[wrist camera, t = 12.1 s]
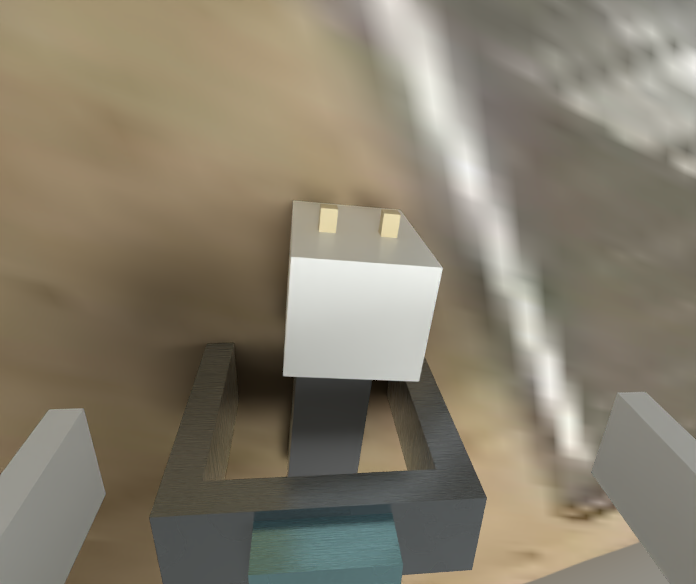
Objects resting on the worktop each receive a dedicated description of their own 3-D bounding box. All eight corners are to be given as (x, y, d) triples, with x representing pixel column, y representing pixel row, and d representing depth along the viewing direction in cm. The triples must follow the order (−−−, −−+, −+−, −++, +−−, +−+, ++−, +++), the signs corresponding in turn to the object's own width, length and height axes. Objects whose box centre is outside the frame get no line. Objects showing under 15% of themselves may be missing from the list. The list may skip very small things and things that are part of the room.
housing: (213, 401, 28) (150, 650, 16) (206, 343, 27) (131, 573, 15) (410, 394, 30) (489, 621, 17) (416, 338, 28) (508, 547, 16)
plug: (360, 454, 31) (379, 569, 24) (276, 453, 31) (269, 571, 23) (403, 190, 24) (448, 241, 17) (294, 180, 23) (293, 229, 16)
